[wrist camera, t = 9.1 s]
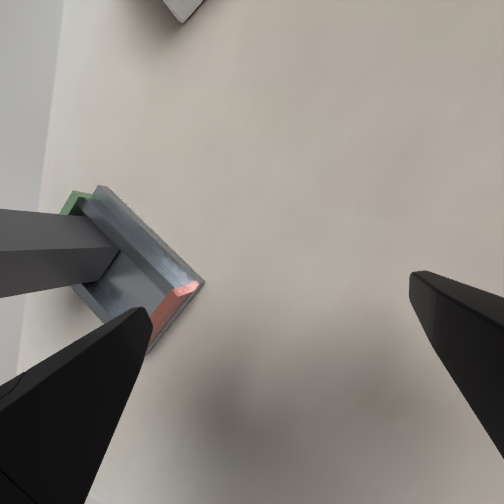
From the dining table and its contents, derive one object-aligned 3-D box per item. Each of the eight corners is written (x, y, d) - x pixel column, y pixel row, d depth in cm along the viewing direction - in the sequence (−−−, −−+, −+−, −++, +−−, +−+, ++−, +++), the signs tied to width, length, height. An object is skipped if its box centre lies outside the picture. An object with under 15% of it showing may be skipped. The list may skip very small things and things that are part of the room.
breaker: (121, 246, 23) (-141, 256, 10) (98, 280, 24) (-168, 328, 11) (92, 217, 23) (-185, 191, 11) (71, 251, 24) (-208, 264, 12)
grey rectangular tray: (205, 281, 22) (186, 288, 19) (148, 353, 24) (123, 368, 21) (107, 187, 24) (77, 180, 22) (62, 259, 26) (30, 261, 23)
